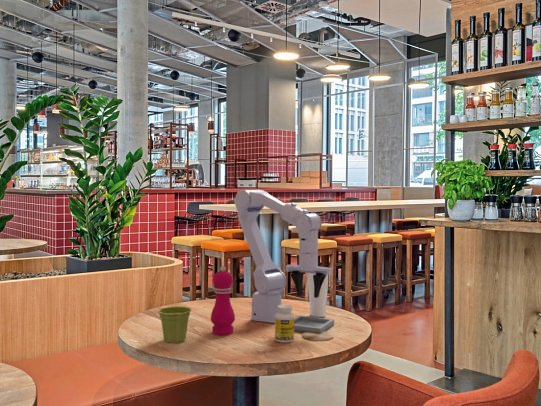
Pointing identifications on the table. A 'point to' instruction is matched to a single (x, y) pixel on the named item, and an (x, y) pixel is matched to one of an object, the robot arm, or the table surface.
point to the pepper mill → (222, 304)
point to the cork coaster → (318, 336)
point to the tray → (312, 324)
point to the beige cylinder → (320, 302)
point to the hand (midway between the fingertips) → (308, 296)
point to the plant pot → (174, 323)
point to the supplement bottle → (284, 324)
